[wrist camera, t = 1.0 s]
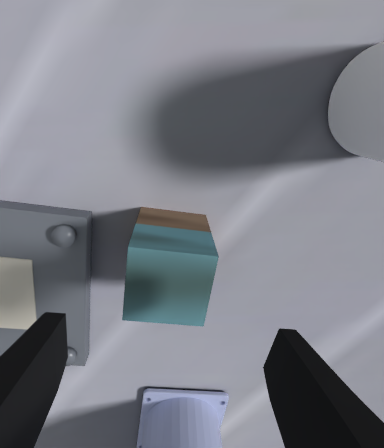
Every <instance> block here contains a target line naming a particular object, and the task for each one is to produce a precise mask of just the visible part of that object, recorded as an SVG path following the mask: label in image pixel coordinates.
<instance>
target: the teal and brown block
mask: <svg viewBox="0 0 384 448" xmlns="http://www.w3.org/2000/svg"><path fill="white" fill-rule="evenodd" d="M218 257H219V256H218V253H217V250H216V247H215V243H214V240H213V237H212V234H211V231H210V227H209V224H208V221H207V218H206V215H202V214H194V213H186V212H178V211H170V210H162V209H154V208H146V207H141V209H140V212H139V215H138V218H137V221H136V224H135V227H134V230H133V233H132V236H131V239H130V242H129V245H128V253H127V266H126V279H125V292H124V305H123V318H122V320H127V321H140V322H153V323H166V324H179V325H192V326H204V322H205V317H206V312H207V308H208V303H209V299H210V294H211V289H212V285H213V280H214V275H215V271H216V266H217V262H218Z"/></svg>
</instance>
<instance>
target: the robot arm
mask: <svg viewBox="0 0 384 448" xmlns="http://www.w3.org/2000/svg"><path fill="white" fill-rule="evenodd" d="M67 359H68V346H67V327H66V313H53V312H45V313H44V314H42V315H41V316H40V317H39V318H38V319H37V320H36V321H35V322H34V323H33V324H32V325H31V326H30V327H29V328H28V329H27V330H26V331H25V332H24V333H23V334H22V335H21V336H20V337H19V338H18V339H17V340H16V341H15V342H14V343H13V344H12V345H11V346H10V347H9V348H8V349H7V350H6V351H5V352H4V353H3V354H2V355H1V356H0V448H34V446H35V443H36V441H37V439H38V436H39V434H40V432H41V429H42V427H43V425H44V422H45V420H46V417H47V415H48V413H49V410H50V408H51V406H52V403H53V401H54V398H55V396H56V394H57V391H58V388H59V385H60V382H61V379H62V376H63V372H64V369H65V366H66V362H67ZM263 368H264V373H265V379H266V384H267V389H268V393H269V398H270V402H271V405H272V408H273V411H274V414H275V418H276V421H277V424H278V427H279V430H280V433H281V436H282V439H283V442H284V446H285V448H384V423H383V422H382V421H381V420H380V419H379V418H378V417H377V416H376V415H375V414H374V413H373V412H372V411H371V410H370V409H369V408H368V407H367V406H366V405H365V404H364V403H363V402H362V401H361V400H360V399H359V398H358V397H357V396H356V395H355V394H354V392H353V391H352V390H351V389H350V388H349V387H348V386H347V385H346V384H345V383H344V382H343V381H342V380H341V379H340V378H339V377H338V376H337V374H336V373H335V372H334V371H333V370H332V369H331V368H330V367H329V366H328V365H327V364H326V362H325V361H324V360H323V359H322V358H321V357H320V356H319V355H318V354H317V352H316V351H315V350H314V349H313V348H312V347H311V346H310V345H309V344H308V343H307V341H306V340H305V339H304V338H303V337H302V336H301V335H300V334H299V333H298V332H297V331H296V330H292V329H279V330H278V333H277V335H276V338H275V340H274V342H273V345H272V347H271V350H270V352H269V355H268V357H267V360H266V362H265V364H264V367H263ZM228 400H229V397H228V394H227V393H226V392H211V391H191V390H171V389H151V388H148V389H145V390H144V392H143V400H142V408H141V415H140V423H139V431H138V439H137V447H136V448H223V447H222V441H221V434H220V427H221V424H222V420H223V417H224V413H225V410H226V407H227V403H228Z"/></svg>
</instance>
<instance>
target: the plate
mask: <svg viewBox="0 0 384 448" xmlns="http://www.w3.org/2000/svg"><path fill="white" fill-rule="evenodd" d="M91 230H92V211H84V210H75V209H67V208H59V207H50V206H42V205H34V204H25V203H17V202H9V201H1V200H0V356H1V355H2V354H3V353H4V352H5V351H6V350H7V349H8V348H9V347H10V346H11V345H12V344H13V343H14V342H15V341H16V340H17V339H18V338H19V337H20V336H21V335H22V334H23V333H24V332H25V331H26V330H27V329H28V328H29V327H30V326H31V325H32V324H33V323H34V322H35V321H36V320H37V319H38V318H39V317H40V316H41V315H42V314H44V313H45V312H53V313H66V327H67V346H68V359H67V362H66V366H69V365H76V366H85V364H86V361H87V358H88V355H89V325H90V278H91Z"/></svg>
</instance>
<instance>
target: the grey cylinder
mask: <svg viewBox="0 0 384 448" xmlns="http://www.w3.org/2000/svg"><path fill="white" fill-rule="evenodd" d="M328 122H329V127H330V130H331V133H332V135H333V136H334V138H335V140H336V141H337V142H338V143H339V144H340V145H341V146H342V147H343V148H344V149H345V150H347V151H348V152H350V153H352V154H355V155H358V156H362V157H365V158H369V159H373V160H377V161H381V162H384V42H381V43H378V44H376V45H373V46H371V47H369V48H367V49H366V50H364V51H362V52H361V53H360V54H358V55H357V56H356V57H355V58H354V59H353V60H352V61H351V62H350V63H349V64H348V65H347V66H346V67H345V68H344V70H343V71H342V73H341V74H340V76H339V77H338V79H337V81H336V83H335V85H334V87H333V90H332V93H331V96H330V101H329V107H328Z"/></svg>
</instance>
